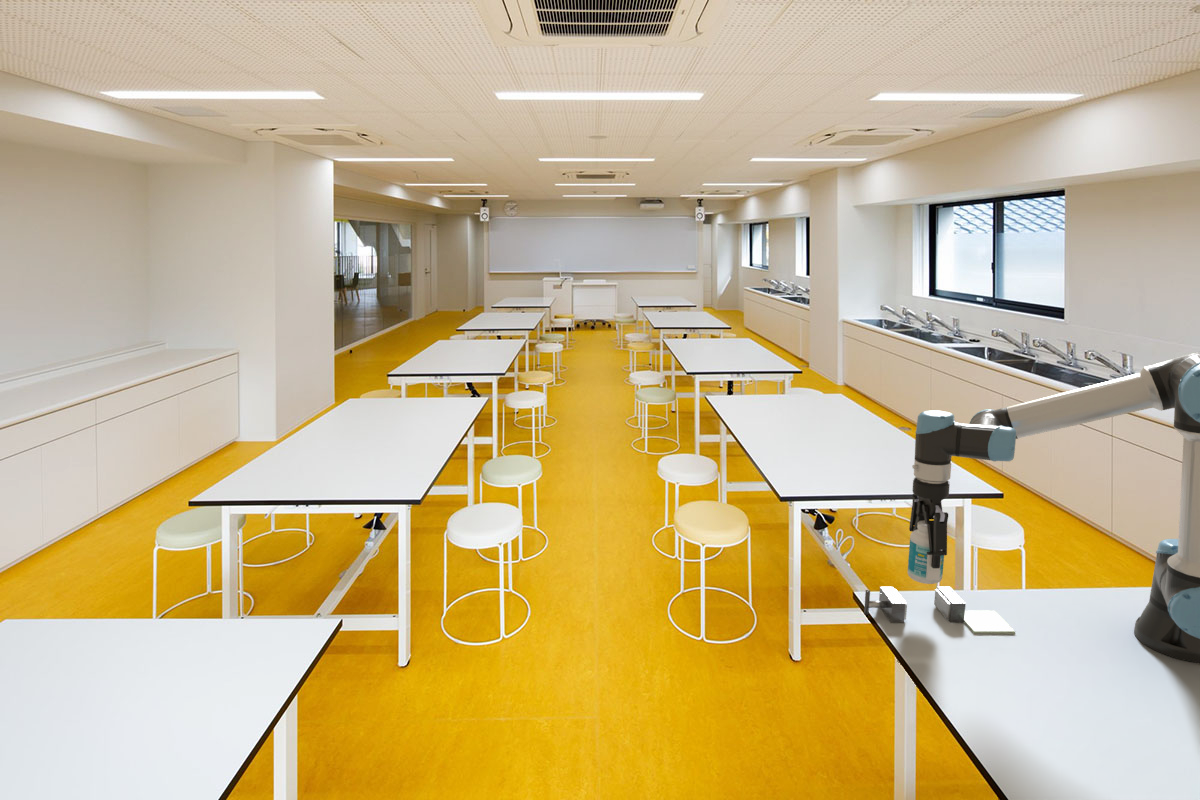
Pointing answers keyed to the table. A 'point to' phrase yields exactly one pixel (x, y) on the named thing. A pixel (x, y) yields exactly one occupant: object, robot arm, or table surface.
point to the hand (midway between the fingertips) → (925, 571)
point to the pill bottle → (920, 555)
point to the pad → (987, 623)
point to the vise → (897, 606)
